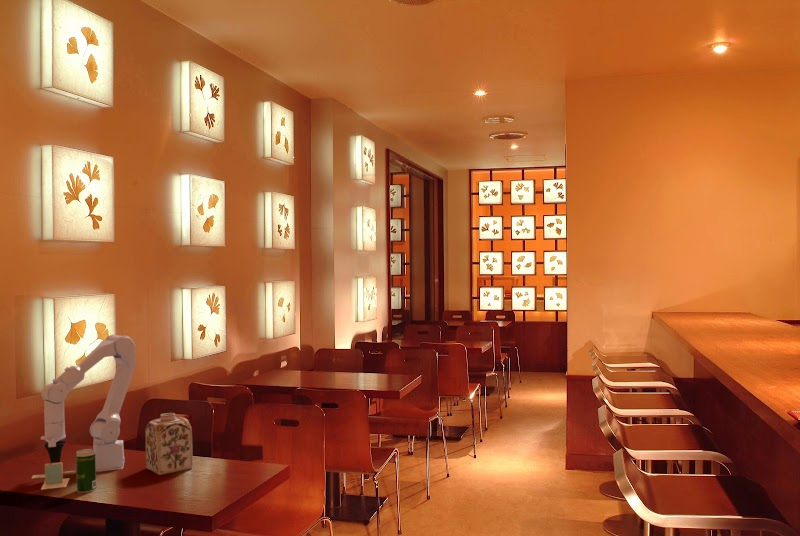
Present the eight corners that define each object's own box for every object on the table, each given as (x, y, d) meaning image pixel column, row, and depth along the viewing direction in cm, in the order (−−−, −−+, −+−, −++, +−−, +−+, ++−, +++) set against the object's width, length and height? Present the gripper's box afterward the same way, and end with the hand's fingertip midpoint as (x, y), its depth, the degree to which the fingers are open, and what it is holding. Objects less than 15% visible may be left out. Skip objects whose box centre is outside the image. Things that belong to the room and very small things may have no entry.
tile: (45, 483, 222) (45, 463, 222) (62, 481, 224) (62, 462, 224) (45, 484, 220) (44, 465, 220) (62, 483, 222) (61, 463, 222)
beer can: (98, 488, 217) (97, 448, 217) (93, 493, 211) (91, 452, 211) (80, 489, 216) (79, 449, 216) (74, 494, 211) (72, 453, 211)
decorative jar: (158, 476, 228) (156, 419, 228) (145, 468, 237) (143, 414, 237) (194, 468, 236) (192, 413, 235) (180, 461, 245) (178, 408, 244)
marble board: (69, 478, 227) (69, 478, 227) (66, 487, 218) (66, 486, 218) (45, 481, 225) (45, 480, 225) (40, 490, 216) (40, 489, 216)
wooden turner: (75, 472, 234) (75, 469, 234) (74, 475, 231) (74, 472, 231) (33, 477, 230) (33, 474, 230) (31, 480, 227) (31, 477, 227)
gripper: (44, 418, 232) (45, 460, 232) (36, 427, 219) (38, 472, 219) (67, 416, 235) (68, 458, 235) (62, 425, 221) (63, 469, 221)
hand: (55, 465), depth 227 cm, fingers closed
